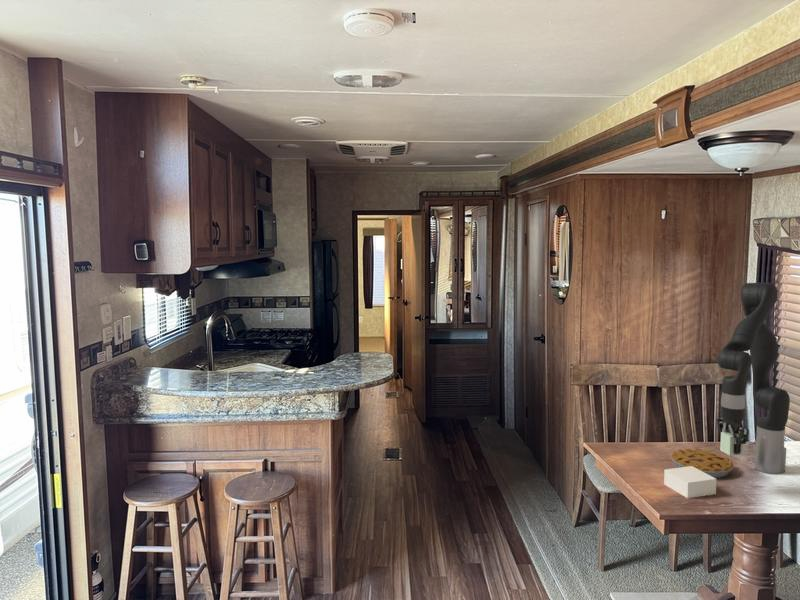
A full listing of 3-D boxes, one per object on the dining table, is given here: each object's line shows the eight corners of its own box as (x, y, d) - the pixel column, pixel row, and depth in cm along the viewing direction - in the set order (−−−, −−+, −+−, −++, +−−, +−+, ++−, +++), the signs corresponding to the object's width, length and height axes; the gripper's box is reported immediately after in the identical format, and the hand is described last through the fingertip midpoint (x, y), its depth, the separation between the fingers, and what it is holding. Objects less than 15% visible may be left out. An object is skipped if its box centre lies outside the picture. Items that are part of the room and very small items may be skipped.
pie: (700, 455, 239) (700, 443, 238) (746, 475, 218) (746, 463, 218) (658, 462, 232) (659, 450, 232) (702, 483, 212) (702, 471, 211)
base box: (691, 481, 214) (691, 466, 213) (715, 494, 202) (716, 478, 202) (664, 484, 211) (664, 469, 211) (687, 499, 200) (688, 482, 199)
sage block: (732, 449, 207) (733, 431, 207) (742, 454, 202) (743, 435, 202) (720, 450, 207) (720, 431, 206) (729, 455, 202) (730, 436, 201)
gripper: (757, 410, 196) (755, 457, 198) (729, 399, 210) (727, 443, 212) (737, 411, 195) (735, 459, 197) (710, 400, 209) (708, 444, 211)
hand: (731, 450), depth 205 cm, fingers closed on sage block, 5 cm apart
